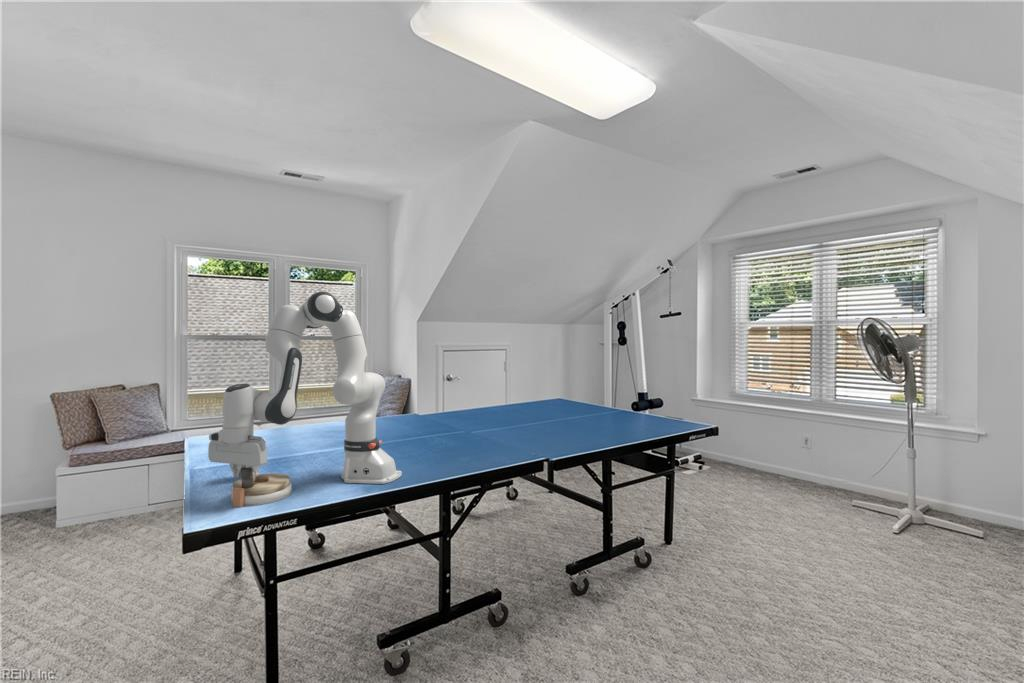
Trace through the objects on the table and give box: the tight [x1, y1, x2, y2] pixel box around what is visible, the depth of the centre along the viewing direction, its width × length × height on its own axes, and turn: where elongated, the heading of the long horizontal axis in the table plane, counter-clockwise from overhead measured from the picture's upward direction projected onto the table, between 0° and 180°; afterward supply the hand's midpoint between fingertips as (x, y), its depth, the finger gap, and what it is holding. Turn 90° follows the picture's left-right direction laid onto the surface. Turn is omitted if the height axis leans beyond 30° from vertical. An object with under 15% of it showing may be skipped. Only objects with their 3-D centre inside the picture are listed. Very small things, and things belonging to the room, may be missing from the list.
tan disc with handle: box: [232, 467, 291, 496], centre depth 167 cm, size 17×17×8 cm
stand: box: [230, 481, 292, 508], centre depth 166 cm, size 18×20×6 cm
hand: (238, 477), depth 161 cm, fingers closed
